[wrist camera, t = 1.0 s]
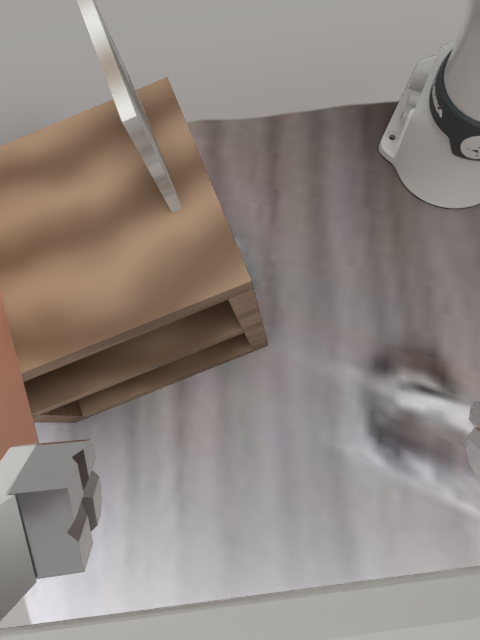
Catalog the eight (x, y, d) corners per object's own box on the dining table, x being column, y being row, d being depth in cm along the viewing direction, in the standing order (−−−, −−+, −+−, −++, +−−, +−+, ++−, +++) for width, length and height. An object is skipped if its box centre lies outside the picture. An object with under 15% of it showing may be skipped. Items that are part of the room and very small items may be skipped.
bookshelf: (39, 294, 60) (-302, 119, 25) (218, 222, 60) (120, -57, 25) (75, 422, 56) (-279, 421, 21) (268, 345, 56) (234, 214, 21)
